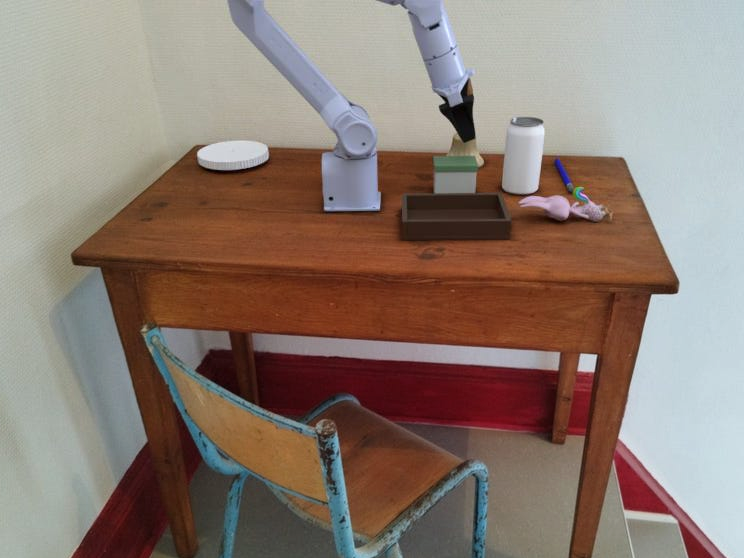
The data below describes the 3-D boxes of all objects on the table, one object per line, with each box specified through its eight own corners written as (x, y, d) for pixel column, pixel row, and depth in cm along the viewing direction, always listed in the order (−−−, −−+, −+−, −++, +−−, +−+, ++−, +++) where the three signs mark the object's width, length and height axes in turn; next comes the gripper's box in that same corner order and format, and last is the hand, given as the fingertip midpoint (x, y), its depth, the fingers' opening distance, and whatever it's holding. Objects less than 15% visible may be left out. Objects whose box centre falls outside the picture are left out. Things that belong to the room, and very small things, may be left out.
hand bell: (486, 169, 128) (492, 82, 119) (443, 169, 128) (446, 82, 119) (481, 155, 135) (487, 72, 125) (440, 156, 135) (443, 72, 126)
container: (433, 199, 115) (434, 166, 112) (432, 188, 120) (433, 155, 116) (476, 199, 115) (478, 165, 112) (473, 188, 120) (475, 155, 116)
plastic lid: (245, 148, 141) (243, 136, 140) (283, 163, 133) (281, 150, 131) (186, 163, 134) (184, 151, 132) (222, 180, 125) (220, 167, 124)
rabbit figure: (599, 219, 111) (512, 207, 109) (611, 184, 107) (522, 172, 106) (610, 234, 106) (520, 222, 104) (623, 199, 102) (530, 186, 101)
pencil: (573, 193, 116) (574, 187, 116) (568, 193, 117) (569, 187, 116) (558, 161, 130) (558, 156, 130) (553, 161, 130) (554, 156, 130)
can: (537, 196, 116) (546, 127, 109) (500, 194, 117) (506, 125, 110) (538, 184, 121) (546, 116, 114) (502, 182, 122) (508, 115, 115)
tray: (402, 240, 102) (402, 221, 100) (401, 211, 111) (401, 193, 110) (509, 239, 101) (511, 220, 100) (500, 210, 111) (501, 192, 109)
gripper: (468, 53, 96) (495, 138, 104) (460, 29, 107) (485, 108, 115) (423, 73, 98) (453, 155, 106) (419, 47, 109) (447, 123, 117)
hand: (467, 131), depth 111 cm, fingers open, 7 cm apart
